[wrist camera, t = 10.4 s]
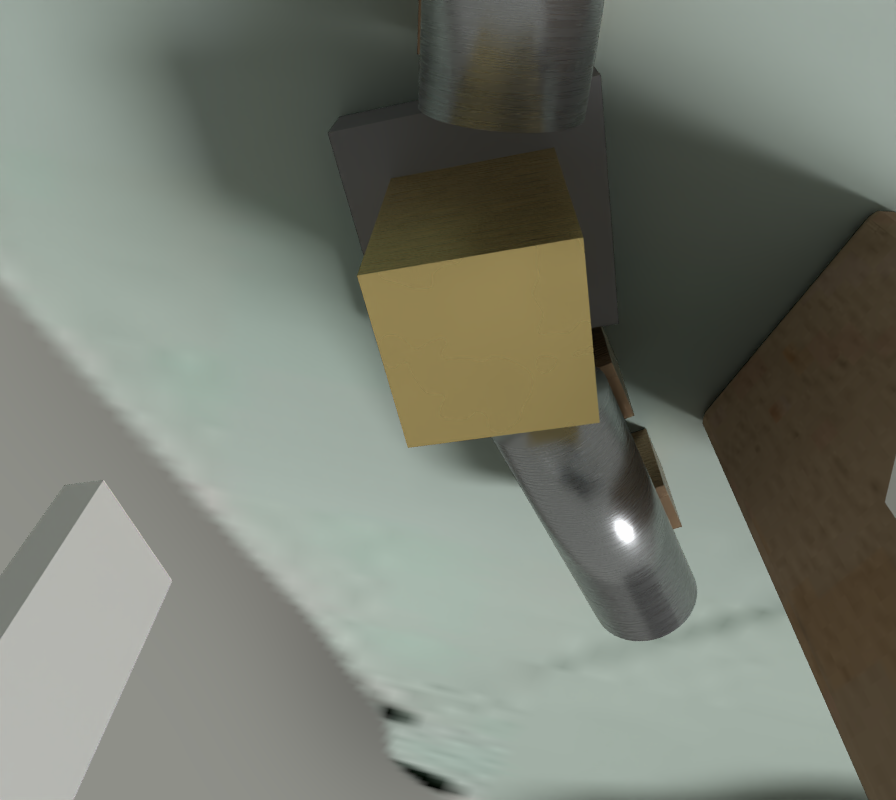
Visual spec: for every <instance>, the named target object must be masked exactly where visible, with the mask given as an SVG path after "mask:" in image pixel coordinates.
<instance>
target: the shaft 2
mask: <svg viewBox="0 0 896 800" xmlns="http://www.w3.org/2000/svg"><path fill="white" fill-rule="evenodd" d="M591 330H592V341H593V353H594V364H595V375H596V386H597V398H598V409H599V420H600V423H594V424H586V425H579V426H571V427H563V428H556V429H548V430H540V431H533V432H525V433H517V434H510V435H502V436H494V437H492V439H493V441H494V442H495V444H496V446H497V447H498V449H499V451H500V452H501V454H502V456H503V458H504V459H505V461H506V463H507V464H508V466H509V468H510V470H511V471H512V473H513V475H514V476H515V478H516V480H517V482H518V483H519V485H520V487H521V488H522V490H523V492H524V494H525V495H526V497H527V499H528V500H529V502H530V504H531V506H532V507H533V509H534V511H535V512H536V514H537V516H538V518H539V519H540V521H541V523H542V524H543V526H544V528H545V529H546V531H547V533H548V535H549V536H550V538H551V540H552V541H553V543H554V545H555V547H556V548H557V550H558V552H559V553H560V555H561V557H562V559H563V560H564V562H565V564H566V565H567V567H568V569H569V571H570V572H571V574H572V576H573V577H574V579H575V581H576V583H577V584H578V586H579V588H580V589H581V591H582V593H583V594H584V596H585V598H586V600H587V601H588V603H589V605H590V606H591V608H592V610H593V612H594V613H595V615H596V617H597V618H598V620H599V622H600V623H601V624H602V626H603V627H604V628H605V629H606V630H607V631H609V632H610V633H612V634H613V635H615V636H617V637H619V638H623V639H626V640H631V641H648V640H653V639H657V638H660V637H663V636H665V635H667V634H669V633H671V632H672V631H674V630H675V629H677V628H678V627H679V626H681V625H682V624H683V623H684V622H685V620H686V619H687V618H688V617H689V615H690V614H691V612H692V610H693V608H694V605H695V602H696V598H697V585H696V581H695V578H694V576H693V574H692V571H691V569H690V567H689V565H688V562H687V560H686V558H685V556H684V553H683V551H682V549H681V546H680V544H679V542H678V540H677V537H676V535H675V533H674V530H673V529H675V528H679V527H682V525H681V522H680V519H679V516H678V513H677V510H676V507H675V504H674V501H673V498H672V495H671V492H670V489H669V486H668V483H667V480H666V477H665V474H664V471H663V468H662V466H661V463H660V461H659V459H658V456H657V454H656V451H655V449H654V447H653V444H652V442H651V440H650V437H649V435H648V433H647V430H646V429H643V430H640V431H637V432H634V433H630V430H629V428H628V426H627V423H626V421H625V419H626V418H629V417H632V416H634V413H633V409H632V406H631V403H630V400H629V396H628V393H627V390H626V387H625V384H624V380H623V377H622V374H621V371H620V367H619V364H618V361H617V359H616V357H615V354H614V352H613V350H612V347H611V345H610V342H609V340H608V338H607V335H606V333H605V331H604V328H603V326H601V327H595V328H591Z"/></svg>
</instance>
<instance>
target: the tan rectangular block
mask: <svg viewBox="0 0 896 800" xmlns="http://www.w3.org/2000/svg"><path fill="white" fill-rule="evenodd" d="M357 277H358V280H359V284H360V287H361V291H362V294H363V297H364V301H365V304H366V307H367V311H368V314H369V318H370V321H371V324H372V328H373V331H374V334H375V338H376V341H377V345H378V348H379V351H380V355H381V358H382V362H383V365H384V368H385V372H386V375H387V378H388V382H389V385H390V389H391V392H392V395H393V399H394V402H395V405H396V409H397V412H398V416H399V419H400V422H401V426H402V429H403V432H404V436H405V439H406V443H407V446H408V448H410V447H418V446H425V445H433V444H441V443H448V442H456V441H464V440H471V439H479V438H487V437H494V436H502V435H510V434H517V433H525V432H533V431H540V430H548V429H556V428H563V427H571V426H579V425H586V424H594V423H600V420H599V409H598V398H597V386H596V375H595V364H594V353H593V341H592V330H591V319H590V307H589V296H588V285H587V273H586V262H585V251H584V239H583V235H582V232H581V229H580V226H579V222H578V219H577V216H576V213H575V210H574V207H573V204H572V201H571V198H570V195H569V192H568V188H567V185H566V182H565V179H564V176H563V173H562V170H561V167H560V164H559V161H558V158H557V154H556V151H555V148H549V149H544V150H538V151H533V152H528V153H523V154H517V155H512V156H507V157H502V158H496V159H491V160H486V161H480V162H475V163H470V164H465V165H459V166H454V167H449V168H443V169H438V170H433V171H428V172H422V173H417V174H412V175H406V176H401V177H396V178H391V180H390V183H389V185H388V188H387V191H386V194H385V197H384V200H383V203H382V206H381V208H380V211H379V214H378V217H377V220H376V223H375V226H374V229H373V231H372V234H371V237H370V240H369V243H368V246H367V249H366V252H365V254H364V257H363V260H362V263H361V266H360V269H359V272H358V275H357Z"/></svg>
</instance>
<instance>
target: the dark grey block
mask: <svg viewBox="0 0 896 800" xmlns="http://www.w3.org/2000/svg"><path fill="white" fill-rule="evenodd" d="M328 135H329V139H330V142H331V145H332V149H333V152H334V156H335V159H336V162H337V166H338V169H339V173H340V176H341V179H342V183H343V186H344V190H345V193H346V196H347V200H348V203H349V207H350V210H351V213H352V217H353V220H354V224H355V227H356V230H357V234H358V237H359V241H360V244H361V247H362V251H363V254H365V252H366V249H367V246H368V243H369V240H370V237H371V234H372V231H373V229H374V226H375V223H376V220H377V217H378V214H379V211H380V208H381V206H382V203H383V200H384V197H385V194H386V191H387V188H388V185H389V183H390V180H391V178H396V177H401V176H406V175H412V174H417V173H422V172H428V171H433V170H438V169H443V168H449V167H454V166H459V165H465V164H470V163H475V162H480V161H486V160H491V159H496V158H502V157H507V156H512V155H517V154H523V153H528V152H533V151H538V150H544V149H549V148H555V151H556V154H557V158H558V161H559V164H560V167H561V170H562V173H563V176H564V179H565V182H566V185H567V188H568V192H569V195H570V198H571V201H572V204H573V207H574V210H575V213H576V216H577V219H578V222H579V226H580V229H581V232H582V235H583V239H584V251H585V262H586V273H587V285H588V296H589V307H590V319H591V328H595V327H601V326H607V325H614V324H619V321H618V307H617V293H616V279H615V266H614V252H613V238H612V224H611V210H610V196H609V183H608V169H607V155H606V141H605V127H604V113H603V99H602V86H601V75H600V73H599V72H598V71H597V70H596V68H595V67H593V73H592V79H591V85H590V91H589V97H588V103H587V109H586V115H585V120H584V122H583V123H582V124H581V125H579V126H577V127H575V128H571V129H567V130H562V131H555V132H543V133H511V132H497V131H487V130H479V129H472V128H466V127H461V126H456V125H452V124H448V123H445V122H441V121H438V120H436V119H433V118H431V117H428V116H426V115H425V114H423V113H422V112H421V111H420V110H419V108H418V100H416V101H411V102H406V103H402V104H397V105H393V106H388V107H383V108H379V109H374V110H369V111H365V112H360V113H355V114H351V115H346V116H341V117H339V118H338V119H337V121H336V122H335V124H334V125H333V126H332V128H331V129H330V131H329V132H328Z"/></svg>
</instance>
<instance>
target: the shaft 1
mask: <svg viewBox="0 0 896 800" xmlns="http://www.w3.org/2000/svg"><path fill="white" fill-rule="evenodd" d="M603 6H604V0H419V11H418V46H417V54H420V61H419V94H418V108H419V110H420V111H421V112H422V113H423V114H425V115H426V116H428V117H431V118H433V119H436V120H438V121H441V122H445V123H448V124H452V125H456V126H461V127H466V128H472V129H479V130H487V131H497V132H511V133H543V132H555V131H562V130H567V129H571V128H575V127H577V126H579V125H581V124H582V123H583V122H584V120H585V115H586V109H587V103H588V97H589V91H590V85H591V79H592V73H593V67H594V61H595V55H596V49H597V43H598V37H599V30H600V24H601V18H602V12H603Z"/></svg>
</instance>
